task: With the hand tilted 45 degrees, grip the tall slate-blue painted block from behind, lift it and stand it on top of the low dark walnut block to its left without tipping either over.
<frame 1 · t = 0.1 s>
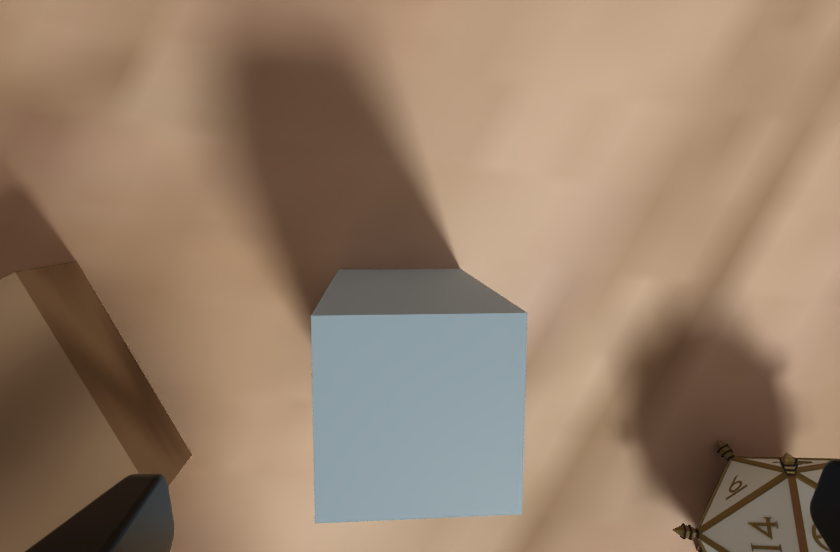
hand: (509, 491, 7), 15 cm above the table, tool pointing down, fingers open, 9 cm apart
blue block: (400, 328, 23), on the table
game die: (735, 496, 25), on the table
walnut block: (38, 408, 22), on the table
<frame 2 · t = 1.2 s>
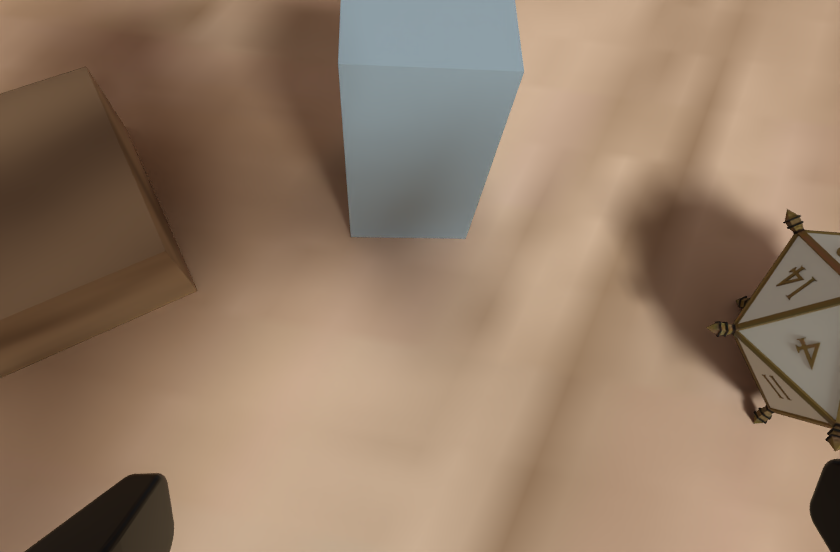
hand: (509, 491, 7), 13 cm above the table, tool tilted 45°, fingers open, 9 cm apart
blue block: (407, 188, 25), on the table
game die: (776, 364, 23), on the table
walnut block: (53, 250, 23), on the table
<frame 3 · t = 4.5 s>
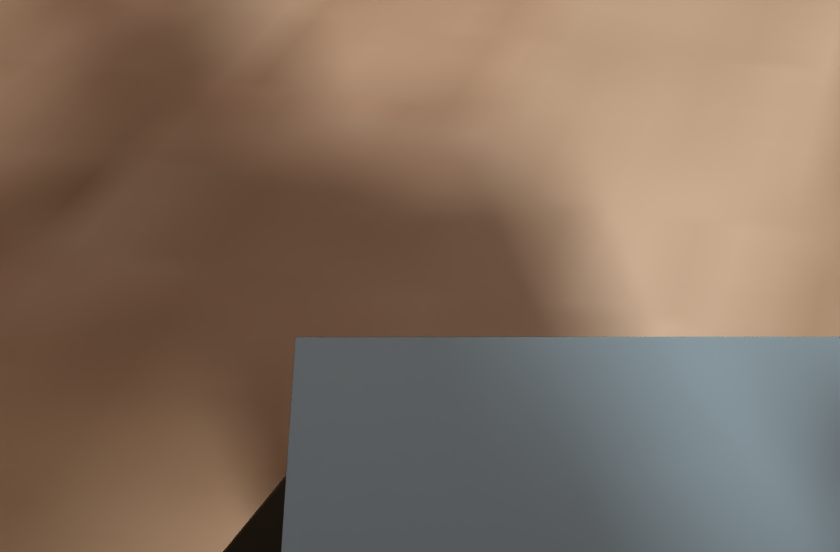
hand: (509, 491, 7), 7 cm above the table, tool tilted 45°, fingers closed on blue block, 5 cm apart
when the fingers open (11 cm above the table, at t = 8.1 s): blue block drops 1 cm, resting on walnut block.
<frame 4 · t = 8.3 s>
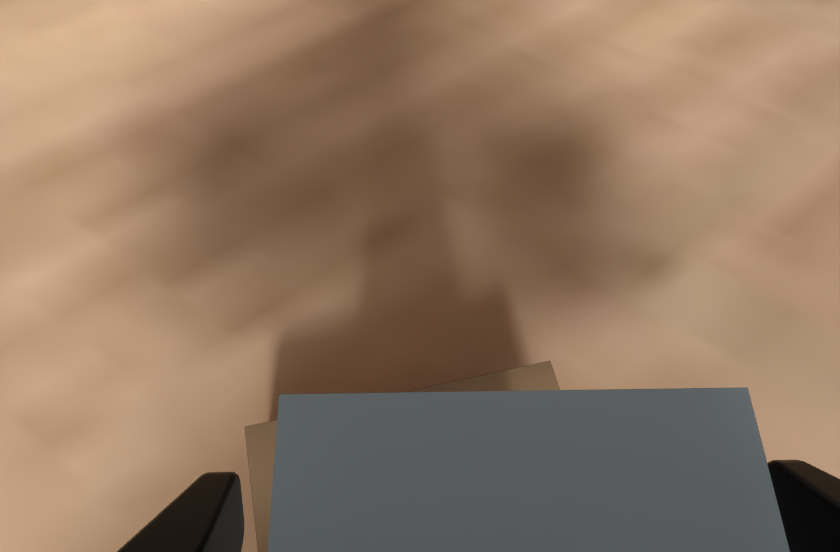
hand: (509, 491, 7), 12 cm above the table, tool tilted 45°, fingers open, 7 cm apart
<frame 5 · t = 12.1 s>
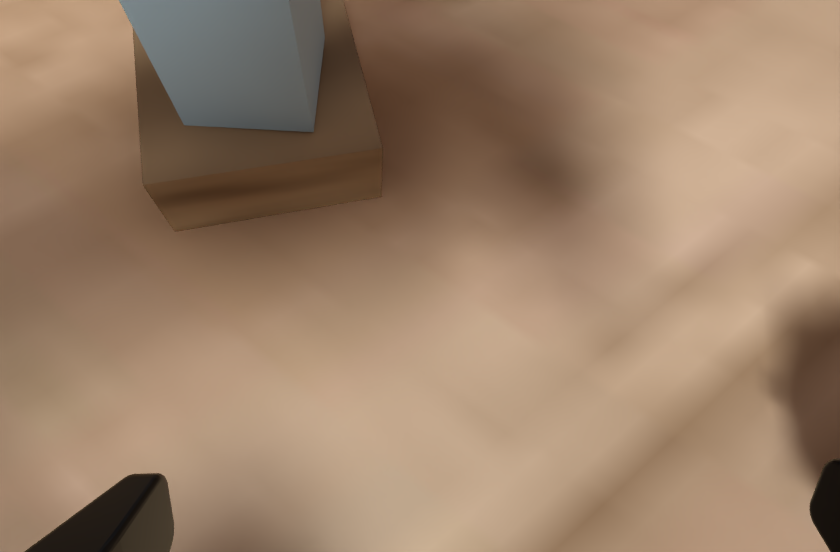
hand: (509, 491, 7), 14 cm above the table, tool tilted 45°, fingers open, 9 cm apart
blue block: (257, 79, 22), point 4 cm above the table
walnut block: (268, 137, 26), on the table
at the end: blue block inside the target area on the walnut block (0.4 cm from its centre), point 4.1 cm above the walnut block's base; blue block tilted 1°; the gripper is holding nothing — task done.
